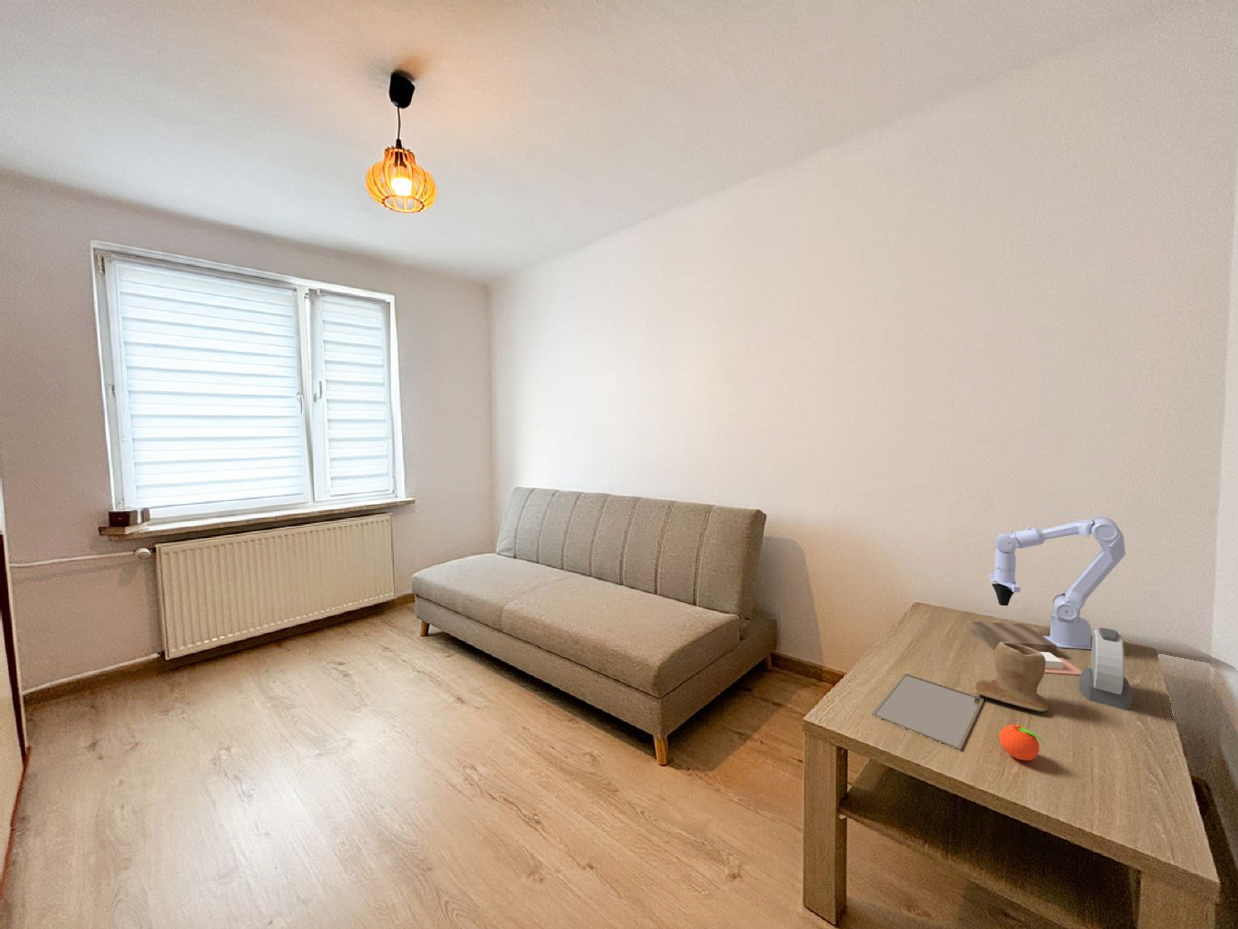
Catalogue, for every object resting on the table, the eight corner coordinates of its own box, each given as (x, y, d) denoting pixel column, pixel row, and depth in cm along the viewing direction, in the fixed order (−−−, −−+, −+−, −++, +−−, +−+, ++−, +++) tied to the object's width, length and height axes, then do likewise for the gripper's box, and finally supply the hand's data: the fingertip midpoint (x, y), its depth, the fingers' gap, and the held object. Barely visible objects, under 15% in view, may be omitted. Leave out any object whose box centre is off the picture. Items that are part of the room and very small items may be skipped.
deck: (1023, 635, 164) (1024, 624, 164) (1055, 657, 149) (1056, 645, 148) (972, 632, 168) (972, 621, 167) (998, 653, 152) (998, 641, 152)
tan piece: (1046, 698, 127) (1049, 645, 126) (1048, 720, 118) (1050, 663, 117) (976, 680, 137) (978, 630, 136) (973, 698, 128) (975, 646, 127)
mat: (1061, 659, 147) (1062, 657, 147) (1086, 675, 138) (1086, 674, 138) (996, 655, 151) (996, 653, 151) (1015, 671, 141) (1015, 669, 141)
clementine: (1046, 758, 105) (1047, 728, 105) (1044, 775, 101) (1045, 743, 100) (1000, 742, 111) (1001, 713, 110) (996, 757, 106) (998, 727, 106)
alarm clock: (1136, 716, 119) (1140, 647, 118) (1080, 701, 126) (1083, 635, 124) (1128, 688, 131) (1132, 625, 129) (1077, 676, 138) (1080, 616, 136)
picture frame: (960, 753, 108) (984, 702, 128) (960, 749, 108) (984, 698, 127) (871, 717, 122) (904, 676, 141) (871, 713, 122) (904, 672, 141)
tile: (1063, 661, 141) (1062, 669, 141) (1049, 652, 146) (1049, 659, 147) (1028, 659, 142) (1028, 667, 143) (1016, 650, 148) (1015, 657, 148)
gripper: (980, 561, 174) (979, 597, 175) (1004, 573, 160) (1002, 612, 161) (1002, 562, 173) (1001, 597, 174) (1028, 574, 159) (1026, 613, 160)
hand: (1003, 605), depth 167 cm, fingers closed
